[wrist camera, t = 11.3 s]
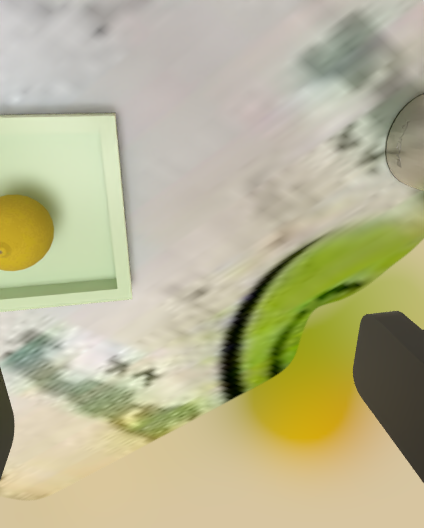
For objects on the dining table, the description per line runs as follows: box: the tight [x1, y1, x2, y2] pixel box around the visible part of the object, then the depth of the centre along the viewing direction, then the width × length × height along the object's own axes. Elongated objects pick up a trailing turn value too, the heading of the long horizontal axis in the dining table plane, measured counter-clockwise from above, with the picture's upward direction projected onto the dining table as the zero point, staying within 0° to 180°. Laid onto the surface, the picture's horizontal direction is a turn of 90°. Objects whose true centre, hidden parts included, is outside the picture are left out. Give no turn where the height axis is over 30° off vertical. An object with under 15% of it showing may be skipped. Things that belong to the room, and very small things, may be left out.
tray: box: [0, 113, 132, 312], centre depth 34 cm, size 16×16×3 cm
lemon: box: [0, 194, 54, 271], centre depth 31 cm, size 6×6×8 cm
